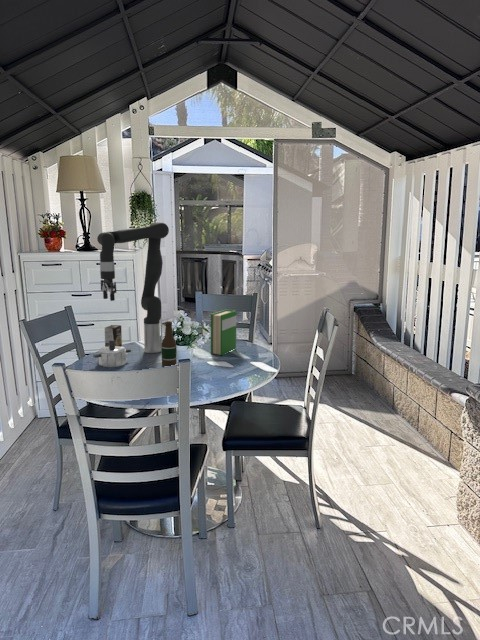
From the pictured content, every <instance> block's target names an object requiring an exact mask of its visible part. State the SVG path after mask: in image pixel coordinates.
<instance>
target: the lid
mask: <svg viewBox="0 0 480 640" xmlns="http://www.w3.org/2000/svg"><path fill="white" fill-rule="evenodd" d="M125 349H126V347H125V346H122V347H121V346H115V340H109V346H108V347H105V346H103V347H100V348H99V349H98V352H100V353H103V354H117V353H122V352H124V351H125Z"/></svg>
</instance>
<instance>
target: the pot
mask: <svg viewBox="0 0 480 640" xmlns="http://www.w3.org/2000/svg"><path fill="white" fill-rule="evenodd" d="M131 352H132V350H131V349H130V348H125V351H124V352H122V353H117V354H103V353H100V352H99V351H98V353H96V354H95V353H94V354H93V356H92V357H93V358H94V359H97V358H98V366H100V367H102V366H103V368H118V367H122V366H124V365H127V353H131Z"/></svg>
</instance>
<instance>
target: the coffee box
mask: <svg viewBox="0 0 480 640" xmlns="http://www.w3.org/2000/svg"><path fill="white" fill-rule="evenodd" d="M122 336H123V335H122V325H120V324H119V325H117V324H111V325H108V326H106V327H104V345H105V346H104V347H108V346H109V340H115V346H121V347H123V339H122Z"/></svg>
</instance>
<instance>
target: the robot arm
mask: <svg viewBox="0 0 480 640" xmlns="http://www.w3.org/2000/svg"><path fill="white" fill-rule="evenodd" d="M169 231H170V228H169V226H168V225H167V224H166V223H164V222H162V221H157V222H156V221H155V222H152V223H151V224H149V226H144V227H143V226H142V227H136V228H135V227H134V228H124V229H120V230H115V231H113V230H112V231H104V232H101V233H99V234H98V235H97V238H96V240H97V242H98V244H99V245H101V251H100V252H99V268H100V269H99V273H100V291H102V295H103V296H102V298H103V300H107V299H108V298H109V297H110V298H109V300H110V301H111V302H113V301H114V302H115V299H116V298H115V294H116V293H117V282H116V281H114V279H115V278H116V271H115V269H116V268H115V262H114V257H115V256H114V252H115V244H125V243H126V244H127V243H131V242H135V241H141V240H145V239H148V240H147V252H146V253H147V255H146V263H145V274H144V282H143V283H144V284H143V290H142V295H141V300H140V305H141V308H142V309H143V310H144V311H146V312H147V313H146V317H144V318H143V336H144V337H143V340H144V341H143V344H144V345H143V346H144V348H143V350H144V353H145V354H146V353H147V354H157V353H160V352H162V348H161V346H162V341H163V339H162V337H163V336H162V335H161V319H162V300H161V299H160V297H158V296H156V295H155V294H156V293H155V292H156V287H157V284H158V282H159V280H160V278H161V276H162V271H163V265H164V264H163V256H162V252H161V251H162V250H161V242H162V239H165V238H166V237H167V236H168V235H169ZM108 291H109V293H108ZM108 294H109V296H108Z"/></svg>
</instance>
